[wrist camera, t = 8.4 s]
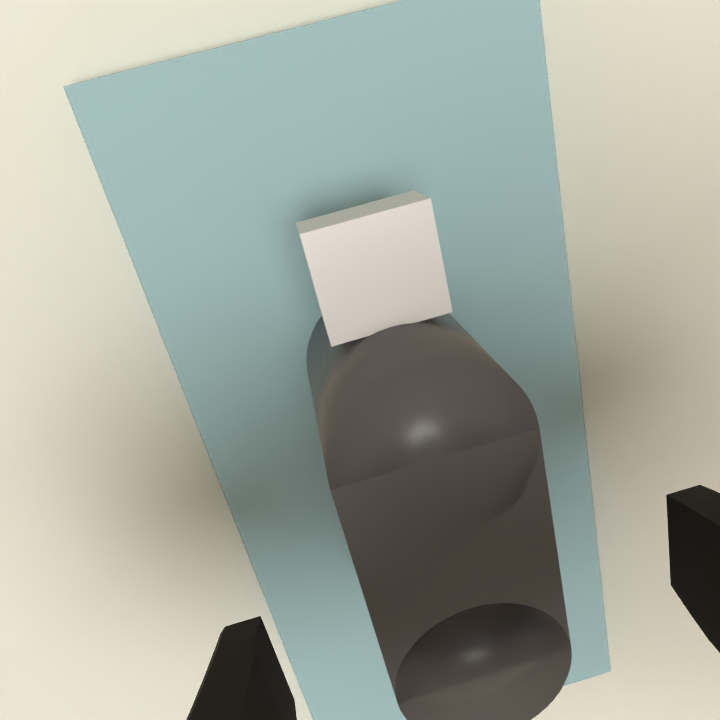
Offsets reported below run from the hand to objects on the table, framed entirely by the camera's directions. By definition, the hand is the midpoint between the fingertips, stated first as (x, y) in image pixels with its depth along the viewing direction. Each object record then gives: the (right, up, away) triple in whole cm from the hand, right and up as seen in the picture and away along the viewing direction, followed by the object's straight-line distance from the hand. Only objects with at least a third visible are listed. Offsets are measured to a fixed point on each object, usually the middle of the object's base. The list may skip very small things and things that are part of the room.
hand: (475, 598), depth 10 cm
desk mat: (-1, +2, +5) cm, 6 cm away
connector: (-1, +2, +4) cm, 5 cm away
